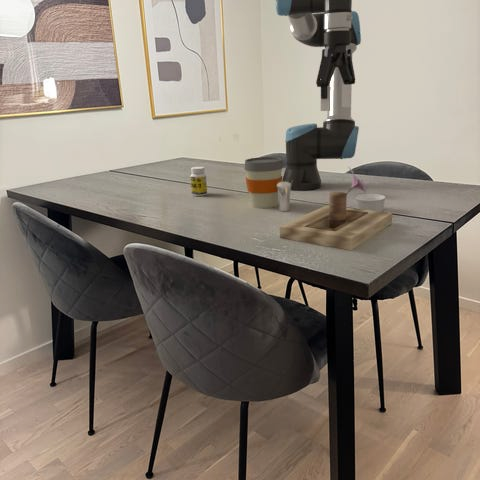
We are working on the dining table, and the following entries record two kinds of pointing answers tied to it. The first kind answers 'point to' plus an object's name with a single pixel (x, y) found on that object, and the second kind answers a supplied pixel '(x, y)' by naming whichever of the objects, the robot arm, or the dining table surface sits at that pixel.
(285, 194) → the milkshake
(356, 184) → the lily
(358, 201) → the ramekin
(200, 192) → the supplement bottle
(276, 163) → the reusable coffee cup
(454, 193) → the dining table surface
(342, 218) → the peg
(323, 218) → the seat board
